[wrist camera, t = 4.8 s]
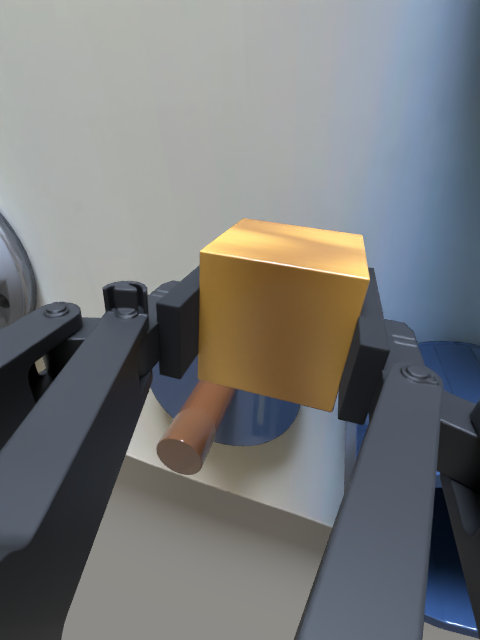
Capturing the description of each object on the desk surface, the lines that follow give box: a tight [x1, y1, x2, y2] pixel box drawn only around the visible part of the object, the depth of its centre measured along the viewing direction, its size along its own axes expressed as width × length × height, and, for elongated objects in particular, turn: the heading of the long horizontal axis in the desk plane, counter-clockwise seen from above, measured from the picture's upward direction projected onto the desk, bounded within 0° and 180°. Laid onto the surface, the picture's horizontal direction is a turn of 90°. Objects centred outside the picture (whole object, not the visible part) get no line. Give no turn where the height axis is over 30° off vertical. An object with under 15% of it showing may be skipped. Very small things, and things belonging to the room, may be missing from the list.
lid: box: [150, 355, 300, 475], centre depth 25 cm, size 14×14×9 cm
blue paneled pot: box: [344, 341, 480, 639], centre depth 20 cm, size 13×13×10 cm
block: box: [198, 218, 370, 412], centre depth 14 cm, size 5×5×5 cm
